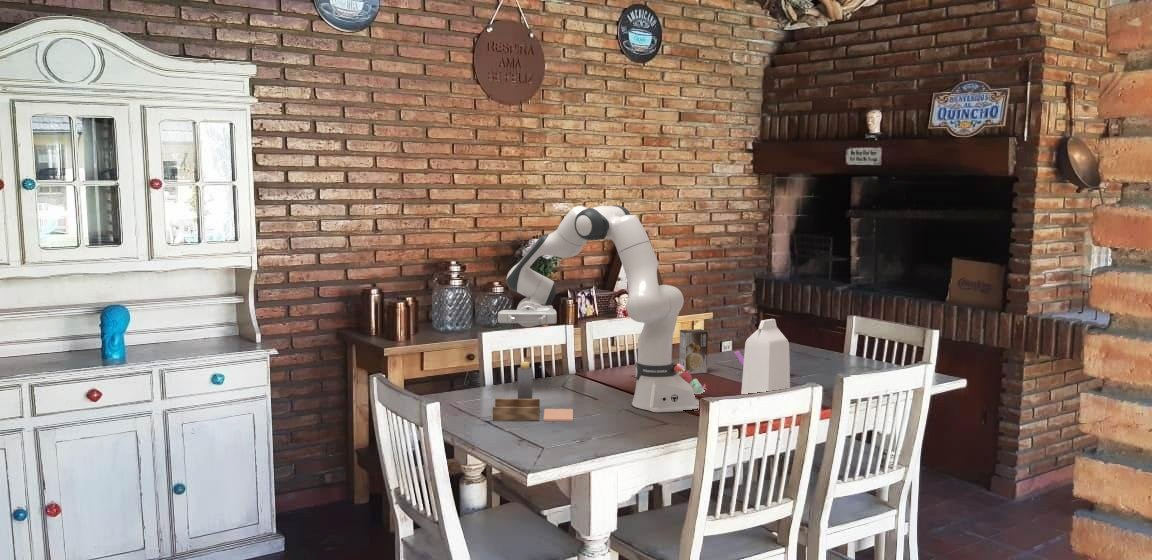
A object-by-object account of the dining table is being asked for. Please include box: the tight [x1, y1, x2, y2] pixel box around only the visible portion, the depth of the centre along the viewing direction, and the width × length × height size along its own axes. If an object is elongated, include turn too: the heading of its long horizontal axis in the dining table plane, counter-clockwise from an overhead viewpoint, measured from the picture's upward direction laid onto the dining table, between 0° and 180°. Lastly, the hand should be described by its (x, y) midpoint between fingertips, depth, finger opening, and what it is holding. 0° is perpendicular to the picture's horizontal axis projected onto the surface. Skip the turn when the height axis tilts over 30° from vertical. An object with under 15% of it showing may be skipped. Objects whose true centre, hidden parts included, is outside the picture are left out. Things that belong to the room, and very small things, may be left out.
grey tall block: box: [517, 361, 533, 399], centre depth 291 cm, size 5×5×14 cm
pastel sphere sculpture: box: [676, 363, 707, 394], centre depth 314 cm, size 25×24×9 cm
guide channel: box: [492, 398, 541, 422], centre depth 278 cm, size 14×11×4 cm
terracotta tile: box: [543, 408, 574, 422], centre depth 279 cm, size 9×12×1 cm
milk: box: [740, 318, 791, 395], centre depth 307 cm, size 12×12×26 cm
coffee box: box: [679, 328, 709, 375], centre depth 342 cm, size 9×6×16 cm
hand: (526, 320), depth 301 cm, fingers open, 8 cm apart
